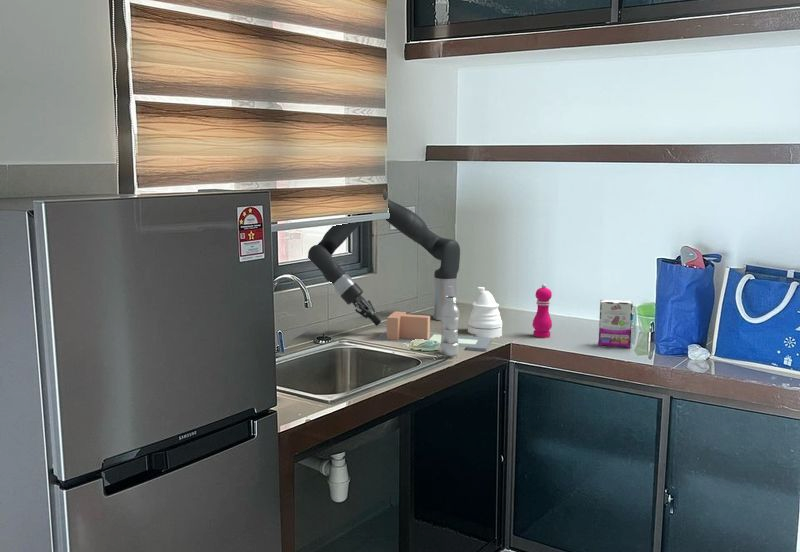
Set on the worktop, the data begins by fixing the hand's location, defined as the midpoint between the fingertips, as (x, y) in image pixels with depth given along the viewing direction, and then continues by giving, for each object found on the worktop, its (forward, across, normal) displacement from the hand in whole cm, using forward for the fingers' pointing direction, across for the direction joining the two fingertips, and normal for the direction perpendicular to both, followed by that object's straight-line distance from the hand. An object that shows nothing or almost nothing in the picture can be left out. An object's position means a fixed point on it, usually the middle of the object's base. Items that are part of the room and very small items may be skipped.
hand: (379, 323), depth 280 cm
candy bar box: (+63, +14, -55) cm, 85 cm away
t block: (+11, 0, -5) cm, 12 cm away
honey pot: (+30, +18, -22) cm, 41 cm away
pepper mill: (+44, +22, -37) cm, 62 cm away
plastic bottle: (+25, -19, -17) cm, 36 cm away
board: (+18, 0, -11) cm, 21 cm away
